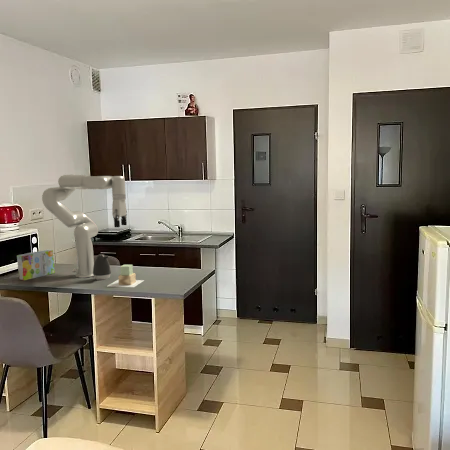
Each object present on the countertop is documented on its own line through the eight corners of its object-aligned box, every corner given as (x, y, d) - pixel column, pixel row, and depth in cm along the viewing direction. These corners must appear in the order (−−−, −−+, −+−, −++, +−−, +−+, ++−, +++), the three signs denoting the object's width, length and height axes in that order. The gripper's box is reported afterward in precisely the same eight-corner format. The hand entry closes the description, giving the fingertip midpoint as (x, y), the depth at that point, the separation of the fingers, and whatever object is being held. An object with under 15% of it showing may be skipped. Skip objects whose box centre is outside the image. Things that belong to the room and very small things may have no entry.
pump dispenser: (102, 282, 262) (101, 256, 260) (89, 280, 267) (88, 254, 265) (115, 278, 271) (113, 253, 269) (102, 276, 276) (100, 251, 274)
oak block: (118, 284, 252) (118, 275, 251) (124, 281, 259) (123, 272, 258) (130, 285, 250) (130, 276, 250) (135, 281, 257) (135, 273, 257)
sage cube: (120, 275, 252) (120, 266, 251) (124, 273, 257) (124, 264, 256) (129, 275, 251) (129, 266, 250) (132, 273, 256) (132, 264, 255)
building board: (106, 288, 249) (106, 286, 249) (118, 281, 264) (117, 279, 264) (134, 288, 246) (134, 287, 246) (144, 282, 260) (144, 280, 260)
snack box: (49, 272, 292) (48, 249, 290) (55, 273, 288) (53, 249, 287) (18, 279, 275) (16, 254, 273) (23, 280, 271) (21, 255, 269)
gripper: (119, 196, 279) (120, 224, 281) (106, 198, 262) (108, 228, 264) (130, 196, 277) (132, 224, 280) (118, 198, 261) (120, 228, 263)
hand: (120, 226), depth 272 cm, fingers open, 9 cm apart
